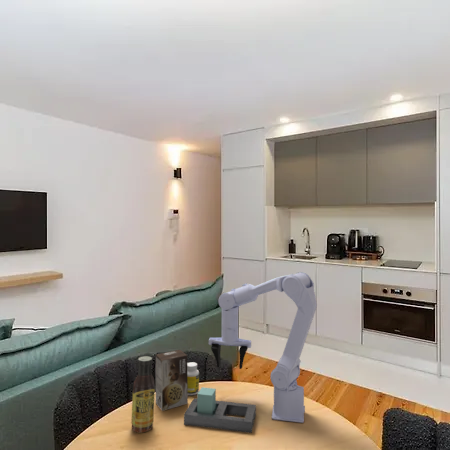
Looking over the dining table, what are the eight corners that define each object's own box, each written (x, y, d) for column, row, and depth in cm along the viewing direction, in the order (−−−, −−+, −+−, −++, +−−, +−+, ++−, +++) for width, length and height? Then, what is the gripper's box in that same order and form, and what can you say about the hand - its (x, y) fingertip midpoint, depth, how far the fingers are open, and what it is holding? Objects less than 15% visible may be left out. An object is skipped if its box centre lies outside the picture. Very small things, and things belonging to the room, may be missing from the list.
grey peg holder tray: (255, 414, 107) (255, 404, 107) (251, 433, 97) (251, 422, 97) (193, 407, 111) (193, 398, 111) (183, 424, 101) (183, 414, 101)
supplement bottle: (198, 395, 119) (198, 367, 119) (182, 395, 119) (182, 367, 119) (199, 388, 124) (199, 361, 125) (184, 388, 125) (184, 361, 125)
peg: (215, 414, 107) (215, 388, 107) (211, 422, 103) (211, 395, 103) (201, 413, 108) (201, 387, 108) (197, 420, 104) (197, 393, 104)
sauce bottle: (134, 436, 95) (134, 364, 96) (129, 425, 101) (129, 357, 101) (157, 430, 98) (157, 360, 99) (151, 419, 104) (151, 353, 104)
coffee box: (180, 396, 119) (180, 348, 119) (188, 404, 113) (188, 354, 114) (154, 402, 114) (155, 353, 114) (161, 411, 109) (162, 360, 109)
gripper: (252, 325, 121) (252, 364, 121) (212, 322, 124) (212, 360, 123) (249, 330, 114) (249, 372, 114) (207, 328, 117) (206, 368, 117)
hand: (229, 366), depth 118 cm, fingers open, 7 cm apart
